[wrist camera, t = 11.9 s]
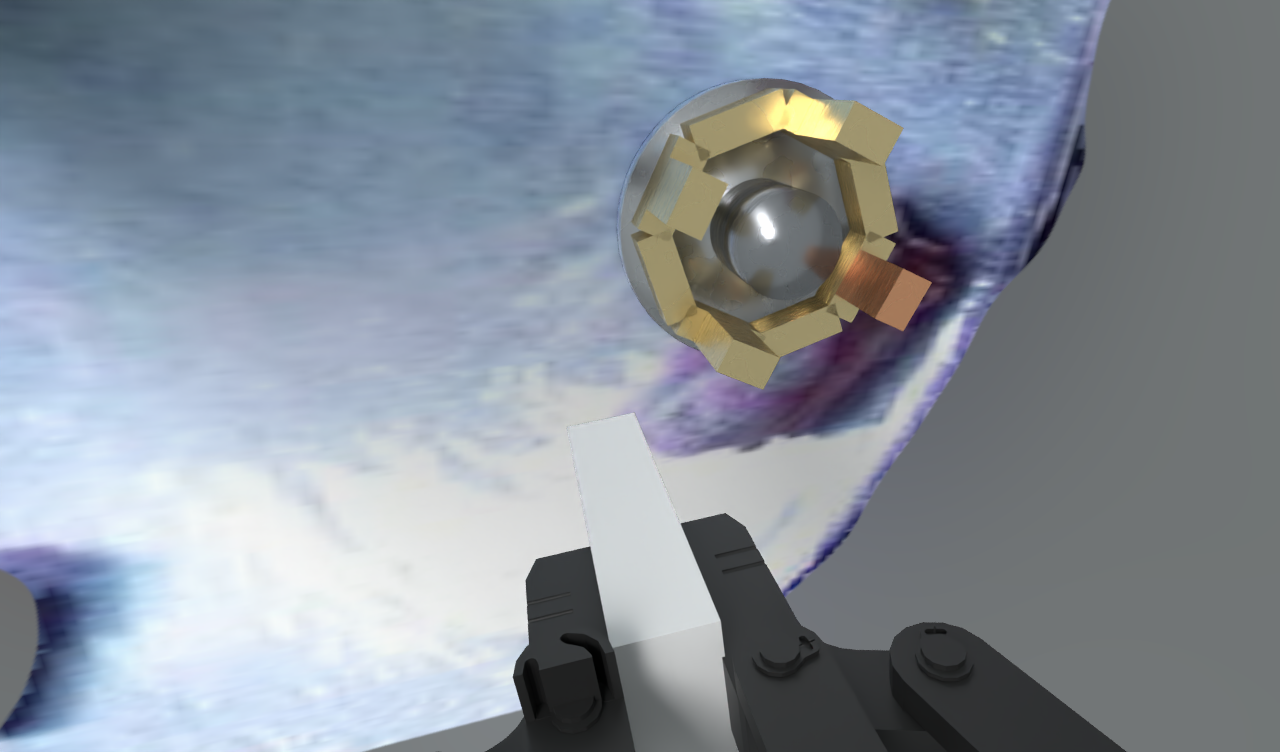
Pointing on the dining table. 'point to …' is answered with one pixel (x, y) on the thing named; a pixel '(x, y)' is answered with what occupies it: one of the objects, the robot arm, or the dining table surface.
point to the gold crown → (694, 196)
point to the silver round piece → (746, 216)
